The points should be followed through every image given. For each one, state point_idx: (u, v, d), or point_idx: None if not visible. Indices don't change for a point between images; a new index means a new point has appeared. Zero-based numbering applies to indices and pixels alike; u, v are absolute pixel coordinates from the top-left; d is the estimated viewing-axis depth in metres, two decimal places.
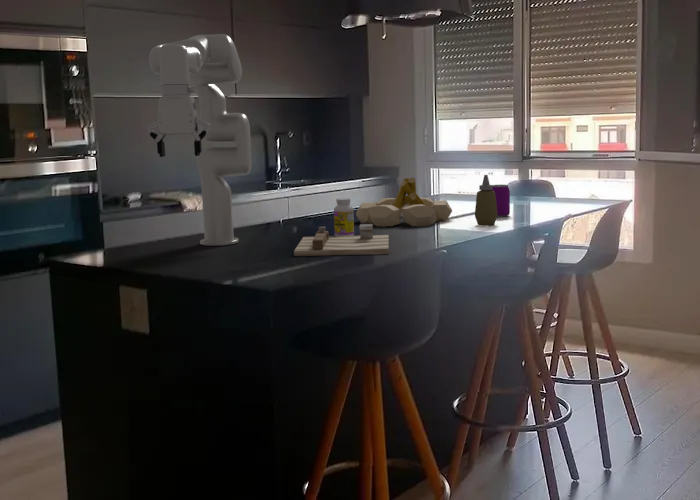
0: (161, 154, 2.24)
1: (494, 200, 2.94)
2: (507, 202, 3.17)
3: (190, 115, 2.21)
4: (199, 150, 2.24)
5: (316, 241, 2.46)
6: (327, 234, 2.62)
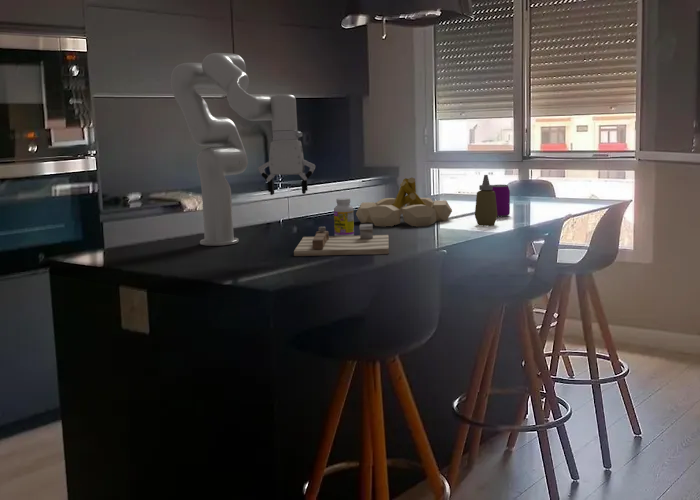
0: (272, 192, 2.49)
1: (494, 200, 2.94)
2: (507, 202, 3.17)
3: (298, 157, 2.46)
4: (306, 188, 2.49)
5: (316, 241, 2.46)
6: (327, 234, 2.62)
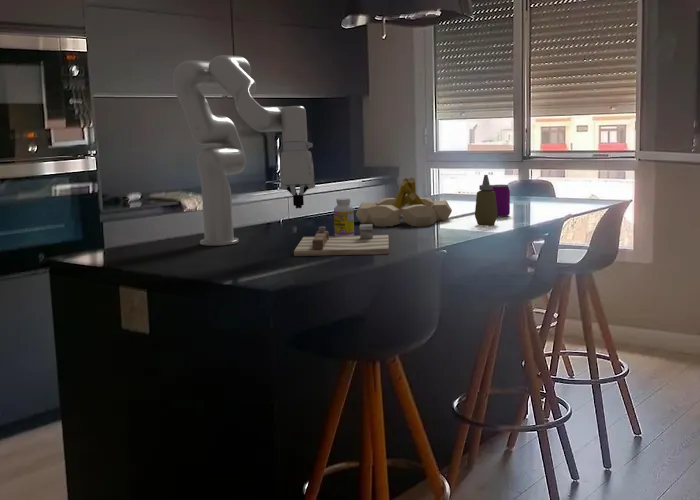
0: (297, 206, 2.52)
1: (494, 200, 2.94)
2: (507, 202, 3.17)
3: (308, 168, 2.49)
4: (302, 203, 2.52)
5: (316, 241, 2.46)
6: (327, 234, 2.62)
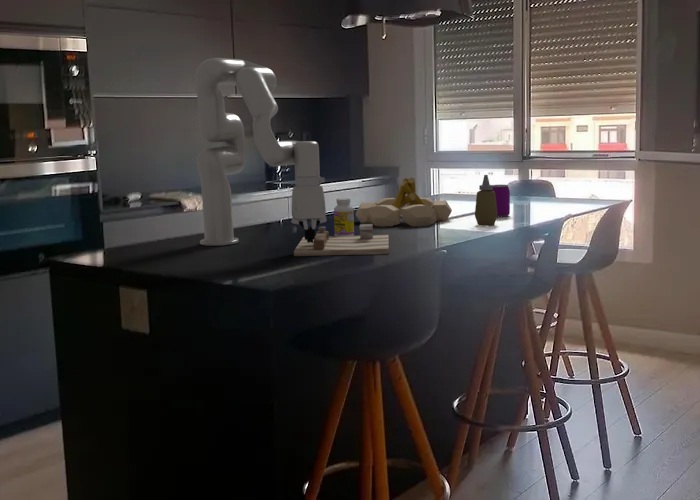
0: (309, 240, 2.53)
1: (494, 200, 2.94)
2: (507, 202, 3.17)
3: (322, 202, 2.52)
4: (314, 237, 2.54)
5: (317, 241, 2.46)
6: (327, 234, 2.62)
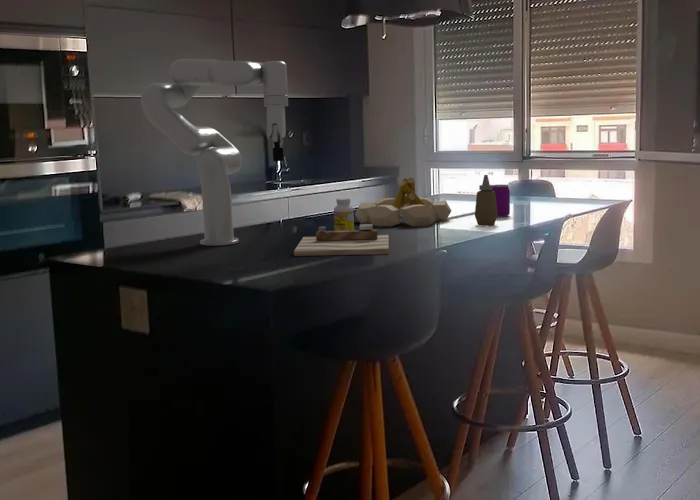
0: None
1: (494, 200, 2.94)
2: (507, 202, 3.17)
3: None
4: None
5: None
6: None
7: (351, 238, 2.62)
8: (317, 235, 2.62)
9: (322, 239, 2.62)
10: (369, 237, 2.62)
